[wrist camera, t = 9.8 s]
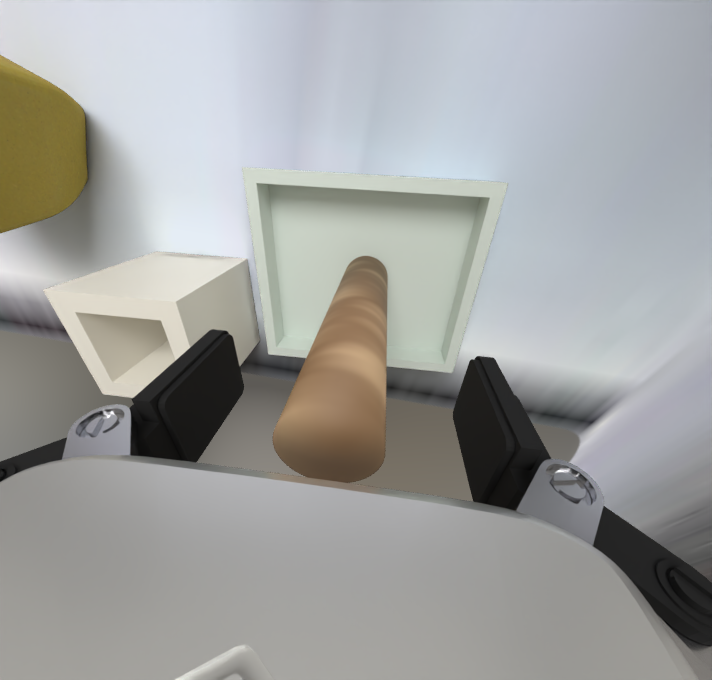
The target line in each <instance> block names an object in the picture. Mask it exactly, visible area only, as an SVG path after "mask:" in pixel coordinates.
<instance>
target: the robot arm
mask: <svg viewBox="0 0 712 680" xmlns="http://www.w3.org/2000/svg"><path fill="white" fill-rule="evenodd" d="M243 390H244V384H243V380H242V375H241V371H240V366H239V362H238V357H237V353H236V348H235V344H234V339H233V336H232V335H229V333H228V331H225V330H216V329H211V330H209V331H208V332H207V333H206V334H205V335H204V336H203V337H202V338H200V339H199V340H198V341H197V342H196V343H195V344H194V345H192V346H191V347H190V348H189V349H188V350H187V351H186V352H185V353H183V354H182V355H181V356H180V357H179V358H178V359H177V360H176V361H174V362H173V363H172V364H171V365H170V366H169V367H168V368H166V369H165V370H164V371H163V372H162V373H161V374H160V375H159V376H157V377H156V378H155V379H154V380H153V381H152V382H151V383H150V384H148V385H147V386H146V387H145V388H144V389H143V390H142V391H141V392H139V393H138V394H137V395H136V396H135V397H134V398H133V399H132V401H133V403H134V405H132V406H131V407H130V408H128V407H127V406H124V405H119V404H118V405H108V406H104V407H101V408H98V409H95V410H93V411H91V412H89V413H87V414H86V415H84V416H83V417H81V418H80V419H78V420H77V421H76V422H75V423H74V424H73V425H72V426H71V428H70V430H69V432H68V436H67V438H64V439H61V440H59V441H56V442H53V443H51V444H48V445H45V446H42V447H40V448H37V449H34V450H31V451H28V452H26V453H23V454H21V455H18V456H15V457H12V458H10V459H7V460H4V461H1V462H0V680H712V583H711V582H710V581H709V580H708V579H707V578H706V577H704V576H703V575H702V574H700V573H699V572H698V571H697V570H695V569H694V568H693V567H691V566H690V565H688V564H687V563H686V562H684V561H683V560H681V559H680V558H678V557H677V556H675V555H674V554H673V553H671V552H670V551H668V550H667V549H665V548H664V547H662V546H661V545H660V544H658V543H657V542H655V541H654V540H652V539H651V538H649V537H648V536H647V535H645V534H644V533H642V532H641V531H639V530H638V529H636V528H635V527H634V526H632V525H631V524H629V523H628V522H626V521H625V520H623V519H622V518H620V517H619V516H618V515H616V514H615V513H613V512H612V511H610V510H609V509H607V508H606V507H605V506H604V496H603V494H602V492H601V489H600V488H599V486H598V485H597V484H596V482H595V481H594V480H593V479H592V478H591V477H590V476H589V475H588V474H587V473H586V472H584V471H583V470H581V469H580V468H578V467H577V466H575V465H573V464H571V463H569V462H566V461H563V460H559V459H551V457H550V456H549V454H548V452H547V450H546V449H545V446H544V445H543V443H542V441H541V439H540V437H539V435H538V434H537V432H536V430H535V428H534V426H533V424H532V423H531V421H530V419H529V417H528V415H527V413H526V412H525V410H524V408H523V406H522V404H521V402H520V401H519V399H518V398H517V396H515V395H514V394H513V392H512V390H511V388H510V387H509V385H508V383H507V381H506V379H505V377H504V375H503V373H502V372H501V370H500V368H499V366H498V364H497V362H496V360H495V359H494V358H490V357H481V356H477V357H476V358H475V360H470V362H469V365H468V368H467V371H466V374H465V377H464V380H463V383H462V386H461V389H460V392H459V395H458V398H457V401H456V404H455V407H454V411H453V420H454V424H455V427H456V432H457V436H458V440H459V444H460V449H461V453H462V457H463V461H464V465H465V469H466V473H467V478H468V482H469V486H470V490H471V494H472V498H473V501H474V502H471V501H465V500H458V499H453V498H446V497H440V496H434V495H428V494H421V493H414V492H406V491H399V490H392V489H386V488H378V487H371V486H365V485H358V484H350V483H344V482H337V481H329V480H322V479H315V478H308V477H301V476H293V475H286V474H279V473H271V472H264V471H257V470H248V469H242V468H233V467H226V466H219V465H211V464H204V463H196V462H197V461H198V459H199V458H200V456H201V455H202V453H203V452H204V450H205V449H206V447H207V446H208V444H209V443H210V441H211V440H212V438H213V437H214V435H215V434H216V432H217V431H218V429H219V428H220V426H221V425H222V423H223V422H224V420H225V419H226V417H227V416H228V414H229V413H230V411H231V410H232V408H233V407H234V405H235V404H236V402H237V401H238V399H239V398H240V396H241V395H242V393H243Z"/></svg>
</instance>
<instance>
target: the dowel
mask: <svg viewBox="0 0 712 680" xmlns="http://www.w3.org/2000/svg"><path fill="white" fill-rule="evenodd" d="M387 288H388V275H387V270H386V268H385V266H384V265H383V263H382V262H381V261H379V260H378V259H376V258H374V257H371V256H361V257H358V258H356V259H354V260H353V261H351V262H350V264H349V265H348V267H347V268H346V271H345V273H344V275H343V277H342V280H341V282H340V284H339V286H338V289H337V291H336V293H335V295H334V297H333V300H332V302H331V304H330V306H329V309H328V311H327V313H326V315H325V318H324V320H323V322H322V324H321V327H320V329H319V331H318V333H317V335H316V338H315V340H314V342H313V344H312V347H311V349H310V351H309V353H308V356H307V358H306V360H305V362H304V365H303V367H302V369H301V371H300V374H299V376H298V378H297V380H296V382H295V385H294V387H293V389H292V392H291V394H290V396H289V398H288V400H287V403H286V405H285V407H284V409H283V412H282V414H281V416H280V418H279V420H278V423H277V425H276V427H275V430H274V432H273V445H274V448H275V451H276V453H277V454H278V456H279V457H280V458H281V460H282V461H283V462H284V463H285V464H286V465H287V466H289V467H290V468H291V469H293V470H294V471H296V472H298V473H299V474H301V475H303V476H306V477H308V478H315V479H322V480H329V481H337V482H344V483H350V482H355V481H359V480H362V479H365V478H367V477H369V476H371V475H372V474H374V473H375V472H376V471H377V470H378V469H379V468H380V467H381V465H382V464H383V461H384V458H385V440H386V438H385V437H386V364H387Z"/></svg>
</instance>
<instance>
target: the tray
mask: <svg viewBox="0 0 712 680" xmlns="http://www.w3.org/2000/svg"><path fill="white" fill-rule="evenodd" d="M242 171H243V178H244V185H245V192H246V199H247V206H248V213H249V220H250V227H251V234H252V241H253V249H254V256H255V263H256V270H257V277H258V284H259V291H260V298H261V305H262V312H263V319H264V326H265V333H266V340H267V347H268V354H271V355H281V356H291V357H301V358H307V356H308V353H309V351H310V349H311V347H312V344H313V342H314V340H315V338H316V335H317V333H318V331H319V329H320V327H321V324H322V322H323V320H324V318H325V315H326V313H327V311H328V309H329V306H330V304H331V302H332V300H333V297H334V295H335V293H336V291H337V289H338V286H339V284H340V282H341V280H342V277H343V275H344V273H345V271H346V268H347V267H348V265H349V264H350V262H351V261H353V260H354V259H356V258H358V257H361V256H371V257H374V258H376V259H378V260H379V261H381V262H382V263H383V265H384V266H385V268H386V270H387V275H388V288H387V364H386V366H389V367H398V368H408V369H418V370H428V371H437V372H447V373H453V370H454V366H455V363H456V359H457V356H458V353H459V349H460V346H461V342H462V339H463V336H464V332H465V329H466V325H467V322H468V319H469V315H470V312H471V308H472V305H473V302H474V298H475V295H476V291H477V288H478V285H479V281H480V278H481V274H482V271H483V268H484V264H485V261H486V257H487V254H488V251H489V247H490V244H491V240H492V237H493V234H494V230H495V227H496V223H497V220H498V217H499V213H500V210H501V206H502V203H503V200H504V196H505V193H506V189H507V186H508V183H503V182H490V181H473V180H456V179H439V178H422V177H405V176H387V175H370V174H353V173H336V172H319V171H301V170H284V169H267V168H243V167H242Z"/></svg>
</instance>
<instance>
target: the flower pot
mask: <svg viewBox="0 0 712 680" xmlns="http://www.w3.org/2000/svg"><path fill="white" fill-rule="evenodd" d="M87 180H88V179H87V157H86V131H85V114H84V111H83V109H82V107H81V106H80V105H79V104H78V103H77V102H76V101H75V100H74V99H73V98H72V97H70V96H69V95H68V94H67V93H65V92H64V91H63V90H61V89H60V88H58V87H57V86H55V85H53V84H52V83H50V82H48V81H46V80H45V79H43V78H41V77H39V76H37V75H35V74H34V73H32V72H30V71H28V70H26V69H25V68H23V67H21V66H19V65H17V64H15V63H14V62H12V61H10V60H8V59H6V58H5V57H3V56H1V55H0V233H3V232H6V231H9V230H13V229H16V228H19V227H22V226H25V225H28V224H32V223H35V222H38V221H41V220H44V219H46V218H49V217H52V216H54V215H56V214H58V213H60V212H61V211H63V210H64V209H66V208H67V207H69V206H70V205H71V204H72V203H73V202H74V201H75V200H76V199H77V197H78V196H79V195H80V193H81V192H82V190H83V188H84V186H85V184H86V182H87Z"/></svg>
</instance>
